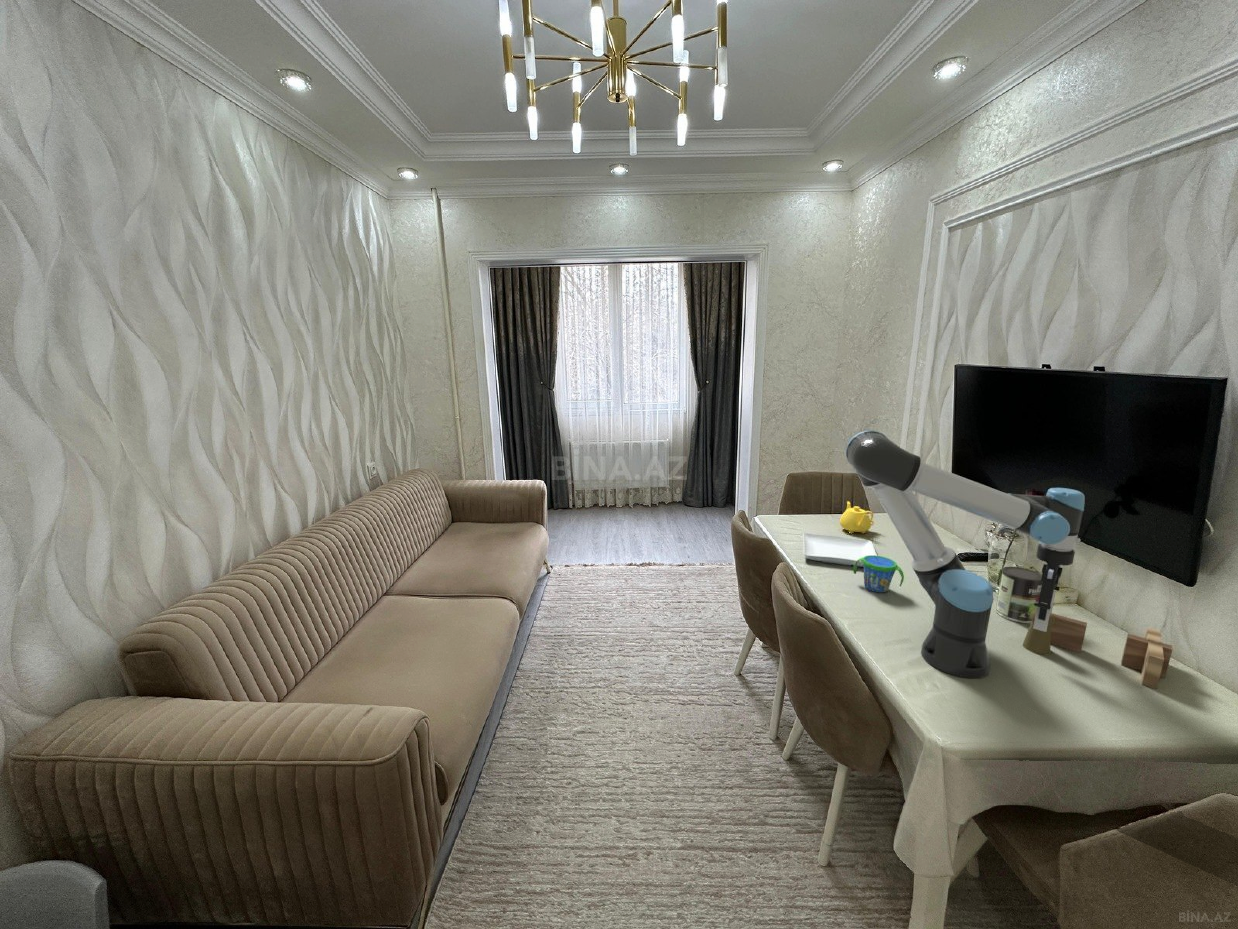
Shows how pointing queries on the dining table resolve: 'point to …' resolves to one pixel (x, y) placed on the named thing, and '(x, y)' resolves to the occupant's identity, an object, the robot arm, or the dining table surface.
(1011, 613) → the coffee can
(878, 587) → the snack cup
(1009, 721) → the dining table surface
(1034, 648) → the cork
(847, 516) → the teapot
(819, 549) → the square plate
